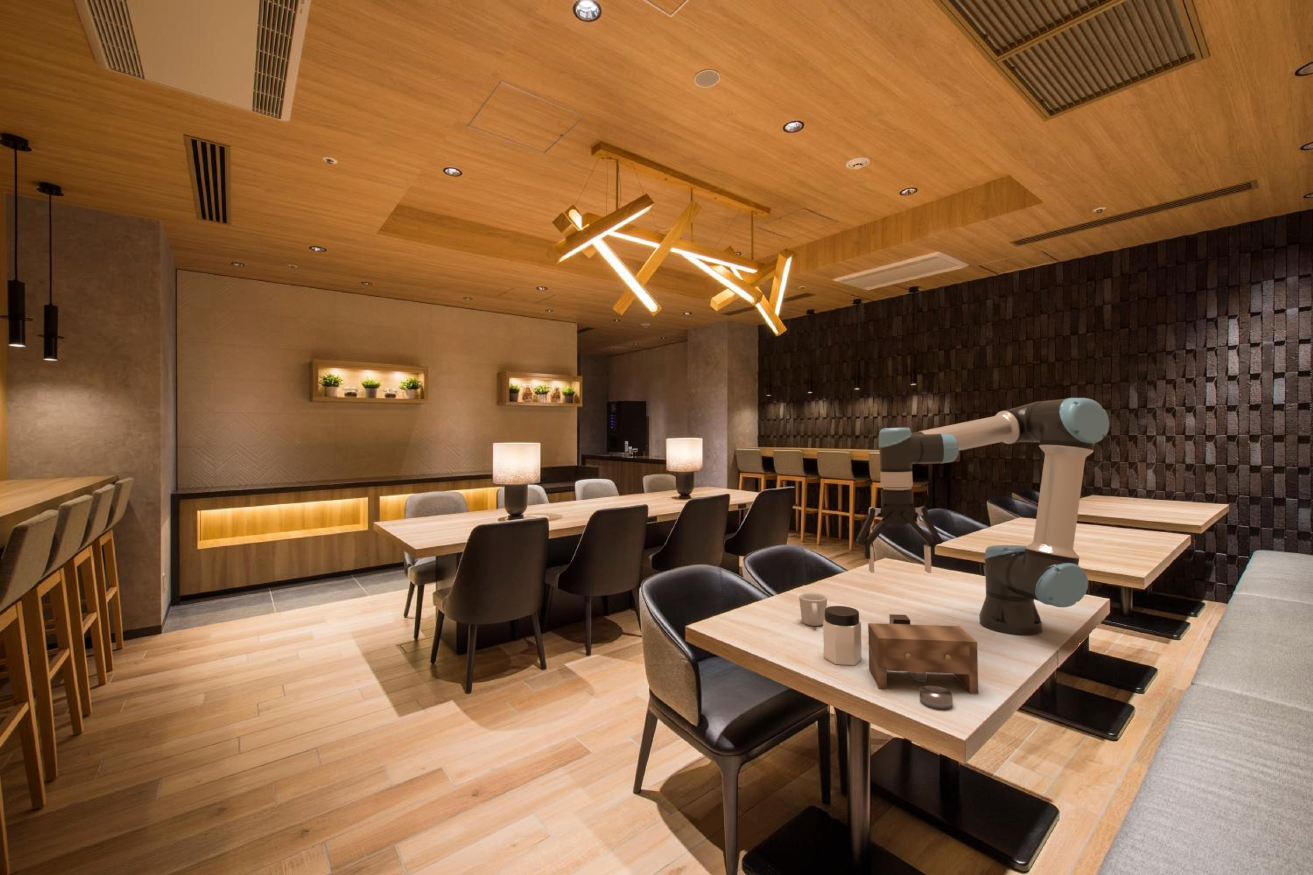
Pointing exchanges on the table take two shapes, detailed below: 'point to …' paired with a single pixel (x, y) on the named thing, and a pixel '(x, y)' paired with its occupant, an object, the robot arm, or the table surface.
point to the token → (936, 697)
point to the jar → (842, 635)
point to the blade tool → (905, 620)
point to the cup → (813, 608)
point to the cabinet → (922, 652)
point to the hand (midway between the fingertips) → (899, 571)
